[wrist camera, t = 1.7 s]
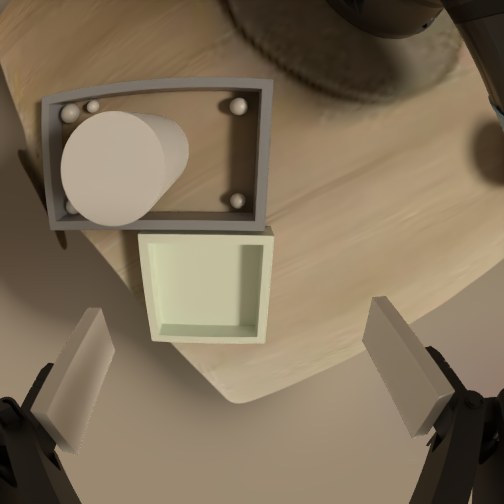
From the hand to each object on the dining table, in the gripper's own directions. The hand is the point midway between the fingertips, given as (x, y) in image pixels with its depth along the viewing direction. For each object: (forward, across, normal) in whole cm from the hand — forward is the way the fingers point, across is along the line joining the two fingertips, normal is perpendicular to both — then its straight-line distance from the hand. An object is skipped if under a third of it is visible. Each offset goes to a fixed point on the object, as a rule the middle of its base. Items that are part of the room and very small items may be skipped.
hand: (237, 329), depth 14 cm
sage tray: (+20, -3, -9) cm, 23 cm away
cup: (+21, -8, +7) cm, 23 cm away
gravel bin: (+20, -8, +7) cm, 23 cm away
